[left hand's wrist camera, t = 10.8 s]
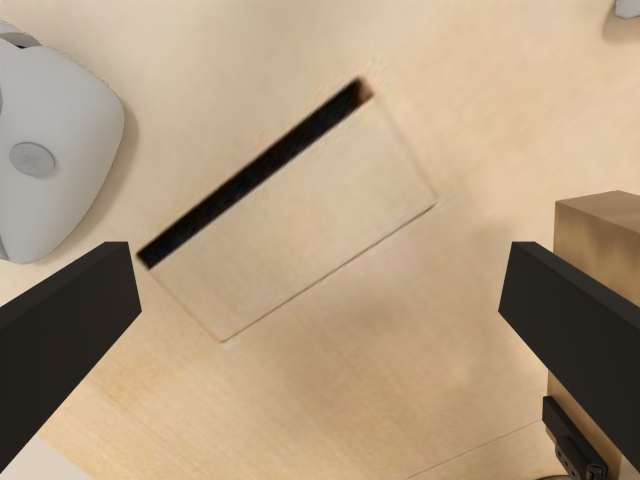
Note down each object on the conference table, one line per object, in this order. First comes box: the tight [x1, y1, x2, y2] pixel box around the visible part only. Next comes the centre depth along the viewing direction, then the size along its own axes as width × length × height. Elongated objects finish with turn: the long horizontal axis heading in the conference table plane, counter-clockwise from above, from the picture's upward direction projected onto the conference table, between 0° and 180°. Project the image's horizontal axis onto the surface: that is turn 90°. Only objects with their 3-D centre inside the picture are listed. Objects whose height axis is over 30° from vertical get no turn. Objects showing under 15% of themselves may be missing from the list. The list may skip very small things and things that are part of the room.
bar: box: [546, 190, 640, 480], centre depth 25 cm, size 22×4×8 cm, turn 11°
